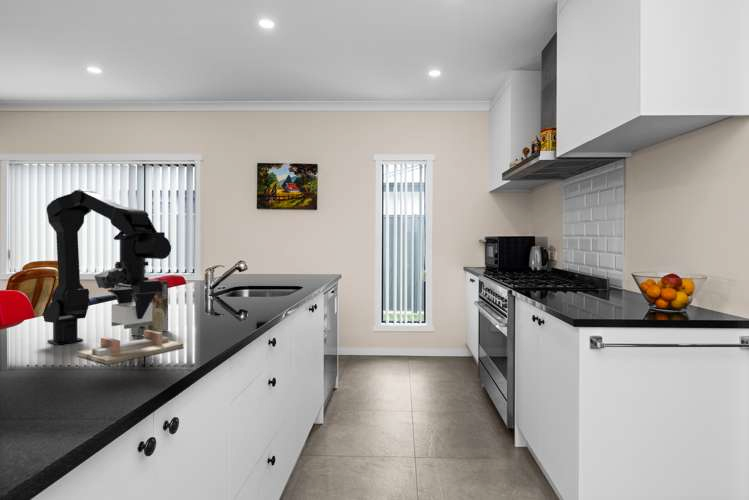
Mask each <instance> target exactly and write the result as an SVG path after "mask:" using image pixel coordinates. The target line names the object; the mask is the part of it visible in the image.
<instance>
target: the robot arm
mask: <svg viewBox="0 0 749 500" xmlns="http://www.w3.org/2000/svg"><path fill="white" fill-rule="evenodd" d="M91 212H95V213H97V214H99V215H100V216H102V217H105V218H107V219H108V220H109V221H110V223H111V226H113V227H114V228H116V229H117V230H118V231H119V233H117V234H116V235H115V236H113V240H114V241H119V261H115V264H114V267H113V268H111V269H108V270H105V271H102V272H100V273H98V274H95V275H94V279H95V281H96V284H97V287H98V288H99V289H101V288H102V289H104V290H105V289H106V290H107V292H108V293H110V294H111V295H113V296H114V297H115V299H116V301H117V304H122V303H130V302H132V298H134V299H135V305H136V314H137V319H142V318H143V316H144V314H145V312H146V310H147V308H148V306H149V305H150V303H151V301H152V299H153V298H154V296H155V295H156V294H158V292H162V291H163V283H162V282H161V281H162V280H157V279H149V277H148V276H145V275H146V273H145V270H146V267H147V266H149V261H145V259H151V260H152V259H153V260H164V259H166V258H168V257H169V256H170V253H171V252H172V251H171V250H172V245H171V242H170V241H169V239H168V237H166V236H165V232H164V231H163V232H162V231H159V232H158V231H157V229H156V228H155V225H154V224H153V222H152V220H151V219H150V217H149V213H148V212H147V211H145V210H142V209H137V208H132V207H128V206H123V205H121V204H119V203H116V202H115V201H112V200H110V199H108V198H106V197H104V196H102V195H101V194H98V193H97V192H96V191H93V190H87V189H80V188H79V189H75V190H74V191H72V192H71V193H69V194H66V195H62V196H59V197H57V198H55V199H52V200H51V201H50V203H48V205H47V206H46V215H47V219H48V223H49V225H50V226H51V227H52V229H53V230H54V232H55V234H56V255H57V257H56V259H57V278H58V280H57V282H58V285H57V286H56V288H55V289H54V291H53V292H52V294H51V303H50V304H49V305H48V307H47V308H46V310H45V311H44V313H42V316H43V319H44V320H43V321H44V323H52V338H51V339H47V342H48V343H50V344H53V345H58V346H59V345H65V344H71V343H77V342H83V341H84V338H82V337H78V336H79V335H78V332H79V331H78V330H79V328H78V327H79V326H78V321H79V319H85V318H86V316H87V313H88V309H89V305H90V303H91V300H90V290H89V289H88V288H85V287H84V286H83V285H82V283H81V276H80V275H81V274H80V255H79V254H80V252H79V231H80V229H81V228H82V226H83V225H84V223H85V216H86V215H88V214H89V213H91Z"/></svg>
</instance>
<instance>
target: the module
mask: <svg viewBox="0 0 749 500" xmlns="http://www.w3.org/2000/svg"><path fill="white" fill-rule="evenodd" d="M147 325H152V304H150V305H149V306H148V308H147V310H146V312H145V314H144V316H143V318H142V319H137V314H136V305H135V302H130V303H122V304H118V303H114V304H111V327H116V326H123V329H124V330H126V329H127V330H128V329H131V328H135V327H141V326H147Z"/></svg>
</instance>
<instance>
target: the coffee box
mask: <svg viewBox="0 0 749 500" xmlns="http://www.w3.org/2000/svg"><path fill="white" fill-rule="evenodd" d="M160 281H161V282H162V283H163V291H162V292H158V294H156V295H155V296H154V298H153V299H152V301H151V303H150V304H152V325H147V326H141V327H135V328H130V333H131V334H133V335H144V330H152V331H156V332H161V333H164V332H163V331H165V332H167V330H168V331H169V281H168V280H160ZM132 302H135V299H134V298H132ZM131 334H130V335H131Z"/></svg>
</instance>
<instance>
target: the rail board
mask: <svg viewBox="0 0 749 500" xmlns="http://www.w3.org/2000/svg"><path fill="white" fill-rule="evenodd" d="M182 348H184V343H182V342H177V341H174V340H173V341H172V340H169V336H164V335H163V332H156V331H152V330H144V336H143V338H140V339H136V340H135V339H134V340H130V341H125V342H121V340H119V339H116V338H112V337H107V336H104V337H101V338H100V346H99V347H93V348H88V349H83V350H78V351H76V355H77V356H78V357H82V358H84V359H87V358H88V359H89V360H90V359H91V361H94V362H97V361H98V362H97V363H100V362H101V364H103V363H104V365H106V364H107V365H110V364H115V363H119V362H124V361H128V359H129V360H133V358H134V359H137V357H138V358H142V356H143V357H146V356H151V355H156V354H160V353H165V352H169V351H174V350H177V349H182ZM88 359H87V360H88Z"/></svg>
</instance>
